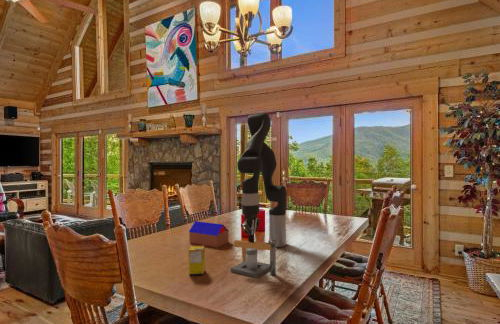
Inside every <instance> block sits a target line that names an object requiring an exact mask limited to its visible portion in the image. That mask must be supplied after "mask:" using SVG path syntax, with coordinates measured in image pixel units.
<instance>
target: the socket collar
mask: <svg viewBox="0 0 500 324" xmlns="http://www.w3.org/2000/svg"><path fill="white" fill-rule="evenodd" d="M269 271H270V263H266V262H260V261H257V269H256V270H249V269H246V260H244V261H242V262H240V263H239V264H237V265H235V266H232V267H230V272H231V273H235V274H238V275H243V276H248V277H252V278H256V279H257V278H259V277H261V276H262V275H263V274H265V273H266V272H269Z"/></svg>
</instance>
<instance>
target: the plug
mask: <svg viewBox="0 0 500 324" xmlns="http://www.w3.org/2000/svg"><path fill="white" fill-rule="evenodd" d="M245 261H246V268H245V269H249V270H256V269H258V268H257V262H258V249H251V248H245Z"/></svg>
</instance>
